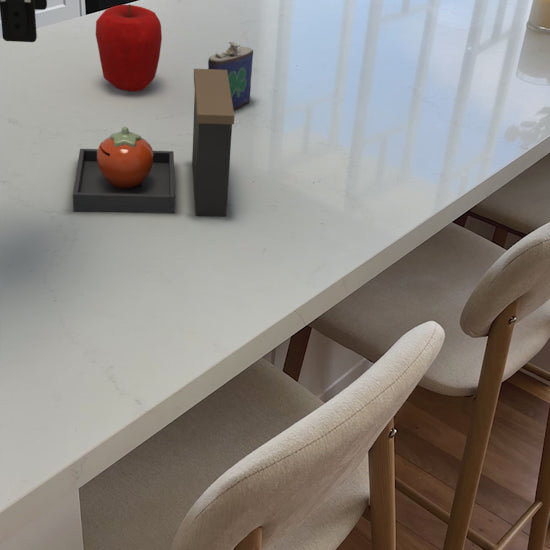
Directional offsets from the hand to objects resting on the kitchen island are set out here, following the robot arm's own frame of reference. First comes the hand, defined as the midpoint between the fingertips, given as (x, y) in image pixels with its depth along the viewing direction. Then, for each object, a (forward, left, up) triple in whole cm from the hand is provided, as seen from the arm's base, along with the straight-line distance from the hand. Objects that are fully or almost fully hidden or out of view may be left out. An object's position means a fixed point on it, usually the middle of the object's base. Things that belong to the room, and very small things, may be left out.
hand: (26, 23), depth 92 cm
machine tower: (+21, +13, -26) cm, 36 cm away
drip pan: (+10, +13, -26) cm, 31 cm away
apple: (+9, +47, -26) cm, 55 cm away
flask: (+25, +40, -26) cm, 54 cm away
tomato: (+10, +13, -26) cm, 30 cm away
